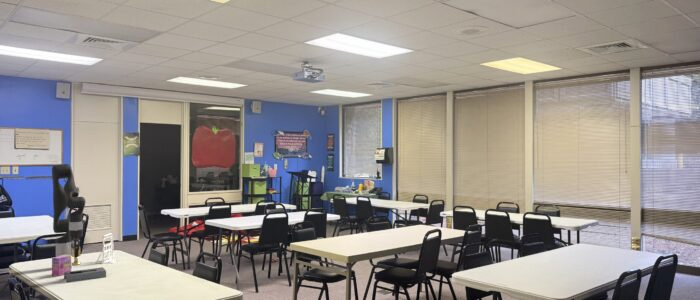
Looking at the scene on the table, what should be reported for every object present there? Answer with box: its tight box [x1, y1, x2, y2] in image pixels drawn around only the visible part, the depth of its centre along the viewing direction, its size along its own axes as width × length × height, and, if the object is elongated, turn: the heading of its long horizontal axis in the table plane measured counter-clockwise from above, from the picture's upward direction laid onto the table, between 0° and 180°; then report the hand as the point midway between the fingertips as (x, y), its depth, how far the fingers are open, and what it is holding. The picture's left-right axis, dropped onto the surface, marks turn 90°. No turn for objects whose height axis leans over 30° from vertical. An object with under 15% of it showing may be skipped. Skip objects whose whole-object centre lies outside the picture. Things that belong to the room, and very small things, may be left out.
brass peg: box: [71, 246, 82, 267], centre depth 304 cm, size 5×5×10 cm
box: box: [51, 254, 72, 277], centre depth 317 cm, size 10×6×12 cm, turn 168°
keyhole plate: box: [63, 267, 107, 283], centre depth 307 cm, size 22×12×4 cm, turn 126°
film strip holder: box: [94, 232, 123, 265], centre depth 355 cm, size 14×14×20 cm
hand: (75, 256), depth 304 cm, fingers closed on brass peg, 4 cm apart
